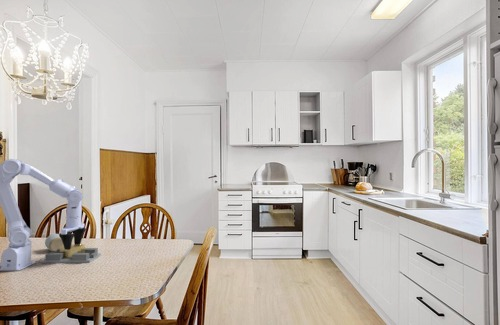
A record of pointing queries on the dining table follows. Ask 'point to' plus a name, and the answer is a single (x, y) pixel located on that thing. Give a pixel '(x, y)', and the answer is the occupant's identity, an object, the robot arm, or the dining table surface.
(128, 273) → the dining table surface
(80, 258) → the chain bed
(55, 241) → the ceramic mug
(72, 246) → the link
